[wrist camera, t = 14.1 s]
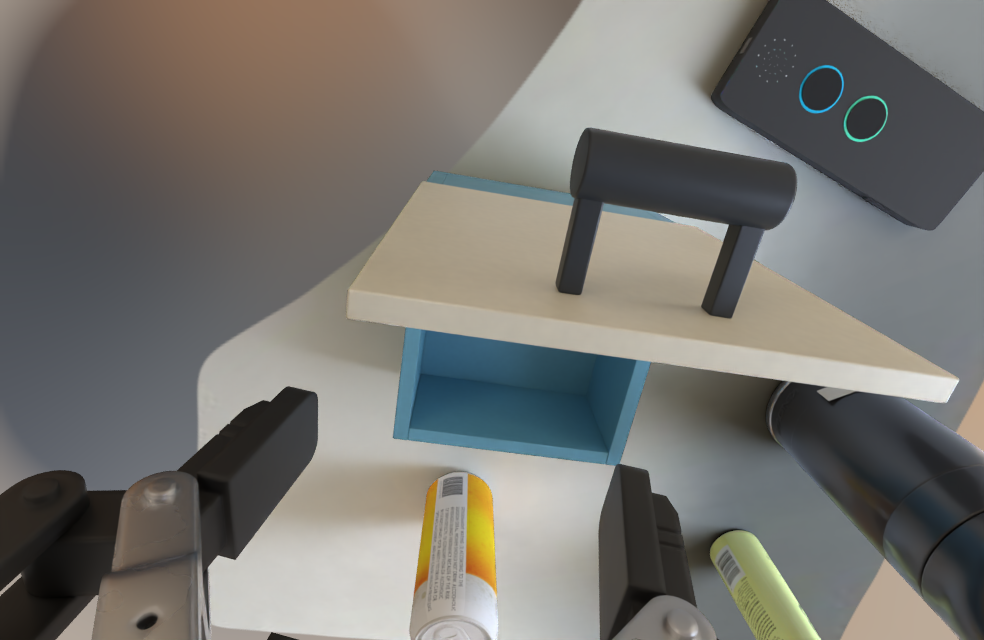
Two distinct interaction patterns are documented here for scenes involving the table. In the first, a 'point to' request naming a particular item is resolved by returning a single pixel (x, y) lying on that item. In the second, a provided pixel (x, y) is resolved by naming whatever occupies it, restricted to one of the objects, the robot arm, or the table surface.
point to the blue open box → (517, 381)
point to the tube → (759, 589)
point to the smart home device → (855, 110)
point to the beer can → (456, 563)
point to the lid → (631, 272)
